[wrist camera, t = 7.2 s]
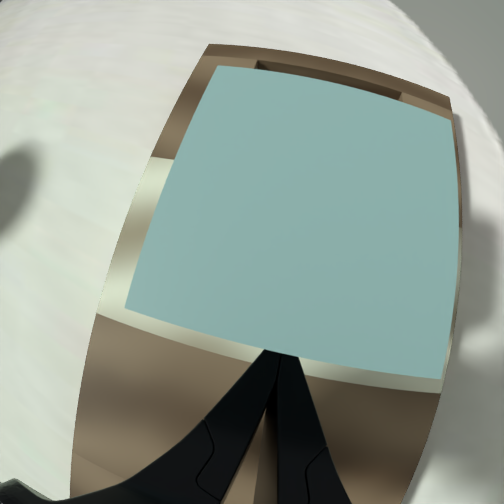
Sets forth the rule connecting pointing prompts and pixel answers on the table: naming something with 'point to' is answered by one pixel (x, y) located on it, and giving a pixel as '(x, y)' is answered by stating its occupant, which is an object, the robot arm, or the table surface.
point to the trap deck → (233, 353)
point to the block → (308, 225)
